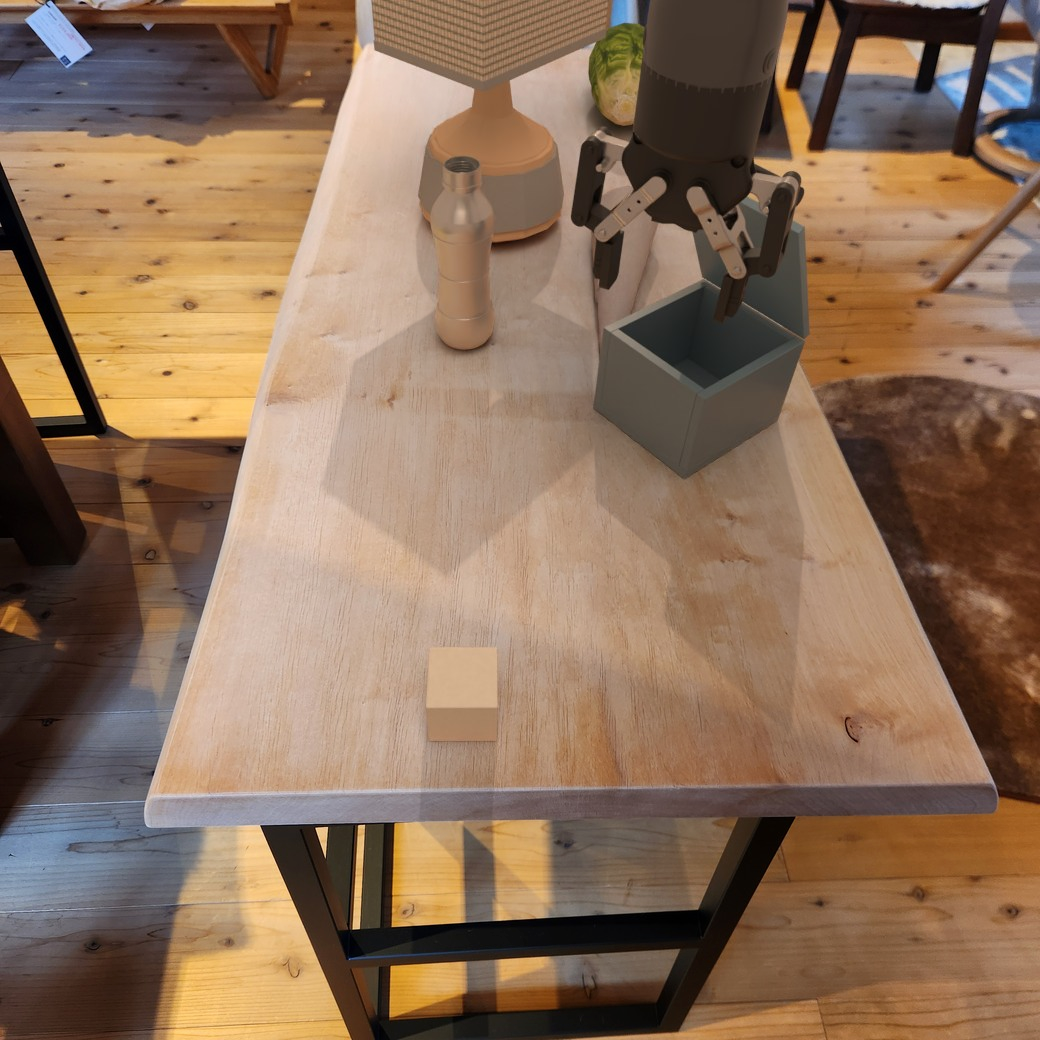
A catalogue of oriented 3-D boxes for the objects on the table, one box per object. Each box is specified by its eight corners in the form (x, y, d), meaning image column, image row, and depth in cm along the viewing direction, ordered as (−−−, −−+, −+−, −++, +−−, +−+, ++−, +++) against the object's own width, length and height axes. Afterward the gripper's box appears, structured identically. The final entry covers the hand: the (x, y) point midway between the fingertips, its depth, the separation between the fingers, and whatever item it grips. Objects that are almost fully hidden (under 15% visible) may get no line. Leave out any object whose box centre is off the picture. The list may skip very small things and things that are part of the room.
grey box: (684, 479, 81) (705, 399, 74) (592, 407, 88) (603, 327, 80) (778, 420, 87) (805, 340, 80) (685, 357, 94) (703, 278, 86)
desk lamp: (490, 166, 122) (493, -154, 95) (597, 212, 115) (633, -122, 87) (381, 222, 111) (349, -123, 83) (491, 277, 103) (496, -84, 76)
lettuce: (583, 143, 128) (591, 64, 120) (585, 88, 142) (592, 13, 133) (659, 148, 128) (672, 69, 119) (654, 92, 142) (665, 17, 133)
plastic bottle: (505, 334, 96) (510, 160, 81) (471, 365, 92) (469, 188, 77) (459, 314, 98) (455, 142, 83) (423, 344, 94) (412, 168, 79)
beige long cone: (685, 335, 89) (666, 187, 104) (603, 331, 89) (596, 183, 104) (671, 386, 96) (654, 240, 110) (594, 383, 95) (588, 237, 110)
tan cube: (496, 682, 66) (497, 646, 62) (496, 741, 63) (497, 707, 59) (432, 682, 66) (429, 646, 62) (428, 741, 62) (425, 707, 59)
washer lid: (798, 233, 67) (841, 189, 67) (678, 169, 73) (718, 129, 74) (804, 339, 80) (840, 303, 80) (701, 277, 86) (735, 243, 86)
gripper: (847, 58, 49) (774, 300, 61) (616, 12, 52) (591, 249, 65) (819, 106, 44) (746, 358, 56) (568, 52, 48) (550, 298, 60)
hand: (663, 299), depth 60 cm, fingers open, 8 cm apart
